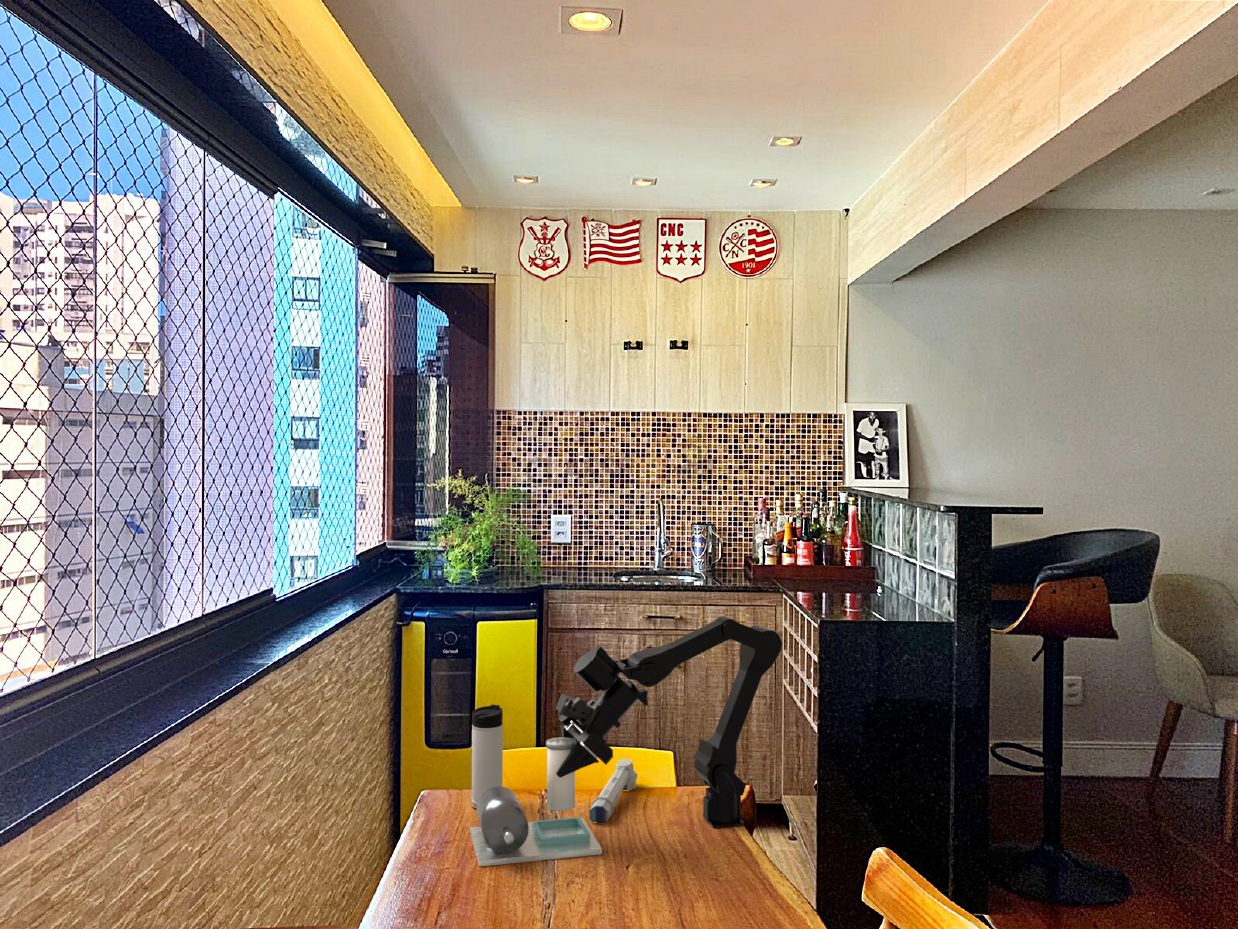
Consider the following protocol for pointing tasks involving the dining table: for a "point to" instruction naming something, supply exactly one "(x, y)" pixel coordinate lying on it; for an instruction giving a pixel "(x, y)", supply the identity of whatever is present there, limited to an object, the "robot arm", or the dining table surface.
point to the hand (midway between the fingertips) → (554, 771)
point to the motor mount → (525, 833)
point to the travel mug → (486, 750)
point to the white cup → (559, 788)
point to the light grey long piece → (613, 791)
